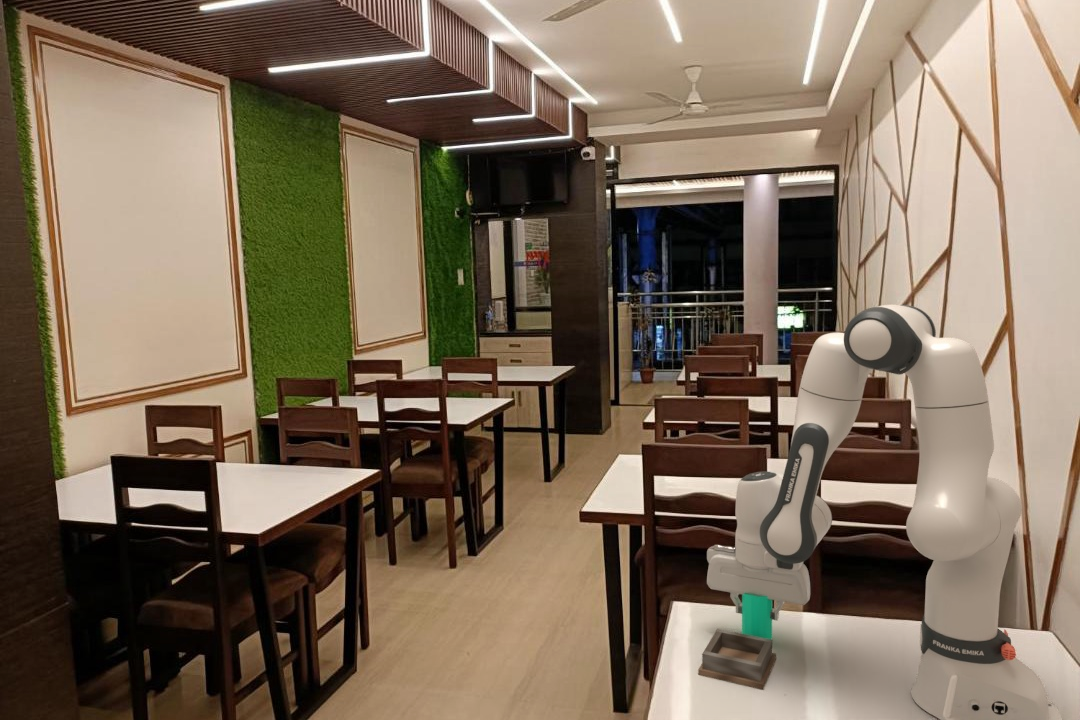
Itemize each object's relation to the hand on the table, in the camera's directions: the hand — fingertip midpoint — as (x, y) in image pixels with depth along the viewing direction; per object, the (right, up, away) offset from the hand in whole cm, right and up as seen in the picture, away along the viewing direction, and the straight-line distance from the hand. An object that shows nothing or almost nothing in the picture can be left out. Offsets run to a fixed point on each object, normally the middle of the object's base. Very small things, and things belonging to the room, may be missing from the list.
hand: (757, 615), depth 157 cm
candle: (0, -5, +1) cm, 5 cm away
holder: (-6, -7, -9) cm, 13 cm away
